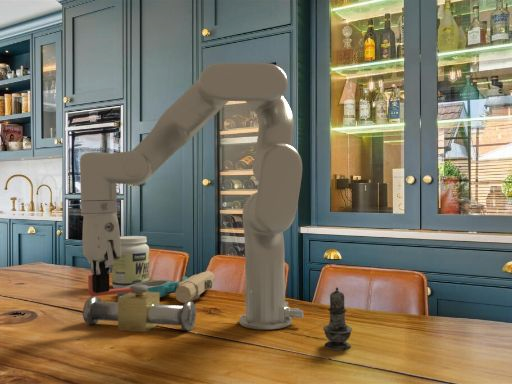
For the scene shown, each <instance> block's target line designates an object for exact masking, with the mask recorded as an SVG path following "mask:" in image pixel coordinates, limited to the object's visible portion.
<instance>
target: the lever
mask: <svg viewBox="0 0 512 384" xmlns="http://www.w3.org/2000/svg"><path fill="white" fill-rule="evenodd" d="M87 278H88V279H87V281H88V283H87V284H88V287H87V289H88V292H87V293H88V295H89V296H90V297H99V296H111V295H117V294H121V293H145V292H147V291H148V286H147V285H134V286H131V287H127V288H117V289H114V288H110V289H109V291H106V292H101V293H95V292H93V286H92V274H89V275H88V277H87ZM90 297H89V298H90Z"/></svg>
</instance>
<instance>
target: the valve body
mask: <svg viewBox="0 0 512 384" xmlns="http://www.w3.org/2000/svg"><path fill="white" fill-rule="evenodd" d="M160 300H161V299H160V297H159V292H145V293H128V294H125V295H123V296H121V297H117V301H102V299H101V298H100V297H99V296H92V297H88V299H87V300H85V303H84V305H83V309H82V319H83V321H84V322H85V323H86V324H88V325H95V324H97V323H99V321H106V322H118V327H117V330H118V331H127V332H142V333H147V332H149V331H150V330H151V329H153V328H155V327H156V326H158V325H169V326H181V329H182V330H183V331H191V330H193V328H194V326H195V323H196V318H197V308H196V304H195V303H194V301H187V302H184V303H183V304H182V305H177V304H176V305H175V304H160Z"/></svg>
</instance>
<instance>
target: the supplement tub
mask: <svg viewBox="0 0 512 384" xmlns="http://www.w3.org/2000/svg"><path fill="white" fill-rule="evenodd" d="M120 242H121V257H120V259H113V260H114V266H113V267H111V268H112V269H111V271H112V272H111V275H112V276H111V277H112V279H111V280H112V281H111V283H112V284H111V285H112V289H117V288H124V287H126V286H129V285H132V284H136V283H141V282H147V281H151V280H150V276H151V275H150V246H149V245H148V244H146V243H147V242H148V241H147V236H143V235H140V236H139V235H127V236H125V235H124V236H120Z"/></svg>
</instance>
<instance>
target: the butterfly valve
mask: <svg viewBox="0 0 512 384" xmlns="http://www.w3.org/2000/svg"><path fill="white" fill-rule="evenodd" d="M215 280H216V276H215V273H213V271H211V270H210V271H209V270H206V271H202V272H200V273H198V274H193V275H192V276H190V277H188V276H183V277H182V279H181V281H172V279H156V280H155V279H154V280H150V281H147V282H141V283H136V284H132V285H129V286H126V287H124V288H127V287H131V286H134V285H147V286H148V291H147V292H159V298H161V297H165V296H168V295H170V294H174V296H175V298H176V300H177V301H178V302H180V303H182V304H184V303H185V302H187V301H188V302H193V301H197V300H198V299H200V298H201V297H200V296H201V294H203V293H204V292H205V291H207V289H212V287H213V285H214V283H215ZM125 294H128V293H121V294H116V297H117V298H118V297H120V296H123V295H125Z"/></svg>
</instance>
